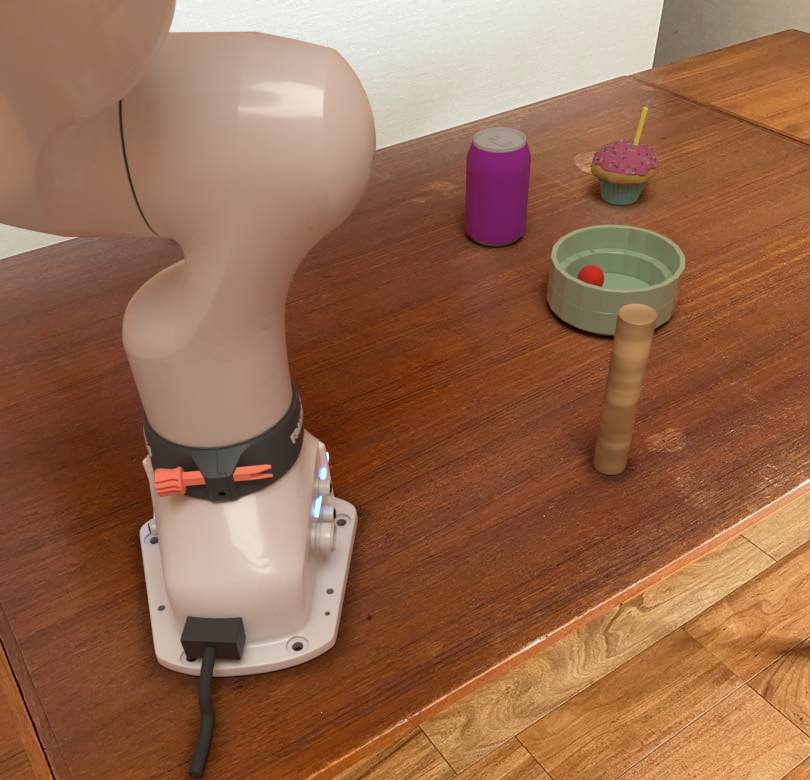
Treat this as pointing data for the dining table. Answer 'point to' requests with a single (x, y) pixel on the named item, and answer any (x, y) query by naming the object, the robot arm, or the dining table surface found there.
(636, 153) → the cupcake
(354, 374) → the dining table surface
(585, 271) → the berry
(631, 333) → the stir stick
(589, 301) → the bowl
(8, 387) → the dining table surface
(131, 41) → the robot arm
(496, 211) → the beverage can
